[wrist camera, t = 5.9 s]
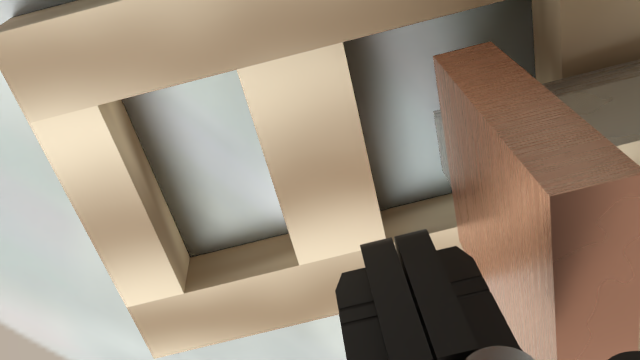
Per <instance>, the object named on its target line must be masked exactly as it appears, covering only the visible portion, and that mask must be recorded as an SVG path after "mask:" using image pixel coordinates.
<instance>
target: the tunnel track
mask: <svg viewBox="0 0 640 360" xmlns="http://www.w3.org/2000/svg"><path fill="white" fill-rule="evenodd" d="M500 1H504V0H77V1H73V2H69V3H65V4H62V5H58V6H54V7H50V8H47V9H43V10H39V11H35V12H31V13H28V14H24V15H20V16H16V17H13V18H10V19H9V20H7V21H6V22H5V23H3V24H2V25H0V70H1V72H2V74H3V76H4V78H5V80H6V82H7V83H8V85H9V87H10V89H11V91H12V93H13V95H14V97H15V98H16V100H17V102H18V104H19V106H20V108H21V110H22V112H23V113H24V115H25V117H26V119H27V121H28V123H29V125H30V127H31V129H32V130H33V132H34V134H35V136H36V138H37V140H38V142H39V144H40V145H41V147H42V149H43V151H44V153H45V155H46V157H47V159H48V160H49V162H50V164H51V166H52V168H53V170H54V172H55V174H56V175H57V177H58V179H59V181H60V183H61V185H62V187H63V189H64V191H65V192H66V194H67V196H68V198H69V200H70V202H71V204H72V206H73V207H74V209H75V211H76V213H77V215H78V217H79V219H80V221H81V222H82V224H83V226H84V228H85V230H86V232H87V234H88V236H89V237H90V239H91V241H92V243H93V245H94V247H95V249H96V251H97V252H98V254H99V256H100V258H101V260H102V262H103V264H104V266H105V268H106V269H107V271H108V273H109V275H110V277H111V279H112V281H113V283H114V284H115V286H116V288H117V290H118V292H119V294H120V296H121V298H122V299H123V301H124V303H125V305H126V307H127V309H128V311H129V313H130V314H131V316H132V318H133V320H134V322H135V324H136V326H137V328H138V330H139V331H140V333H141V335H142V337H143V339H144V341H145V343H146V345H147V346H148V348H149V350H150V352H151V354H152V356H153V358H154V359H155V358H159V357H163V356H168V355H172V354H176V353H180V352H184V351H188V350H193V349H197V348H201V347H205V346H209V345H213V344H218V343H222V342H226V341H230V340H234V339H238V338H243V337H247V336H251V335H255V334H259V333H263V332H268V331H272V330H276V329H280V328H284V327H288V326H293V325H297V324H301V323H305V322H309V321H313V320H318V319H322V318H326V317H330V316H334V315H338V314H339V310H338V305H337V299H336V293H335V290H336V287H337V285H338V282H339V279H340V277H341V274H342V273H344V272H348V271H352V270H356V269H361V268H365V265H364V261H363V256H362V252H361V248H360V245H361V244H365V243H369V242H374V241H378V240H382V239H386V238H390V237H392V239H393V242H394V236H398V235H402V234H407V233H411V232H415V231H419V230H423V229H427V231H428V233H429V235H430V237H431V240H432V242H433V244H434V246H435V249H436V250H440V249H444V248H449V247H453V246H457V247H459V248H460V249H461V250H463V248H462V246H461V244H460V242H459V236H458V229H457V222H456V215H455V208H454V201H453V194H452V193H451V194H447V195H443V196H439V197H435V198H431V199H426V200H422V201H418V202H414V203H410V204H406V205H402V206H398V207H394V208H390V209H386V210H382V211H380V210H379V205H378V200H377V196H376V191H375V187H374V182H373V178H372V173H371V169H370V164H369V159H368V155H367V150H366V146H365V141H364V137H363V132H362V128H361V123H360V119H359V114H358V109H357V105H356V100H355V96H354V91H353V87H352V82H351V78H350V73H349V68H348V64H347V59H346V55H345V50H344V46H343V42H345V41H349V40H353V39H357V38H361V37H365V36H369V35H373V34H376V33H380V32H384V31H388V30H392V29H396V28H400V27H404V26H407V25H411V24H415V23H419V22H423V21H427V20H431V19H435V18H438V17H442V16H446V15H450V14H454V13H458V12H462V11H466V10H469V9H473V8H477V7H481V6H485V5H489V4H493V3H496V2H500ZM532 19H533V38H534V57H535V76H536V80H537V81H539V82H540V83H541V84H544V83H548V82H552V81H556V80H560V79H563V78H567V77H571V76H575V75H579V74H583V73H587V72H591V71H595V70H599V69H603V68H607V67H611V66H615V65H619V64H623V63H627V62H631V61H635V60H639V59H640V0H532ZM233 70H237V72H238V76H239V79H240V82H241V85H242V88H243V91H244V94H245V97H246V101H247V104H248V107H249V110H250V113H251V116H252V119H253V122H254V126H255V129H256V132H257V135H258V138H259V141H260V144H261V147H262V150H263V154H264V157H265V160H266V163H267V166H268V169H269V172H270V175H271V179H272V182H273V185H274V188H275V191H276V194H277V197H278V200H279V204H280V207H281V210H282V213H283V216H284V219H285V222H286V225H287V229H288V232H289V233H288V234H284V235H280V236H276V237H272V238H268V239H264V240H260V241H256V242H252V243H248V244H244V245H240V246H236V247H232V248H228V249H224V250H220V251H215V252H211V253H207V254H203V255H199V256H195V257H191V258H190V257H189V254H188V252H187V250H186V247H185V245H184V243H183V240H182V238H181V236H180V234H179V231H178V229H177V227H176V224H175V222H174V220H173V217H172V215H171V213H170V211H169V208H168V206H167V204H166V201H165V199H164V197H163V195H162V192H161V190H160V188H159V185H158V183H157V181H156V178H155V176H154V174H153V172H152V169H151V167H150V165H149V162H148V160H147V158H146V155H145V153H144V151H143V149H142V146H141V144H140V142H139V139H138V137H137V135H136V133H135V130H134V128H133V126H132V123H131V121H130V119H129V116H128V114H127V112H126V110H125V107H124V105H123V103H122V100H121V99H125V98H129V97H132V96H136V95H140V94H144V93H148V92H152V91H156V90H160V89H163V88H167V87H171V86H175V85H179V84H183V83H187V82H191V81H194V80H198V79H202V78H206V77H210V76H214V75H218V74H221V73H225V72H229V71H233ZM616 147H617V148H619V149H620V150H621V151H622V152H623V153H625V154H626V155H627V156H628V157H629V158H631V159H632V160H633V161H634V162H635V163H637V164H638V165H639V166H640V141H635V142H631V143H627V144H623V145H619V146H616ZM394 245H395V242H394ZM395 248H396V247H395ZM463 251H464V250H463ZM638 351H640V325H639V344H638Z"/></svg>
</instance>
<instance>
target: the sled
mask: <svg viewBox="0 0 640 360" xmlns="http://www.w3.org/2000/svg"><path fill="white" fill-rule="evenodd" d="M433 60H434V67H435V74H436V81H437V88H438V95H439V102H440V110H437V111H433V112H434V119H435V125H436V132H437V139H438V145H439V152H440V159H441V165H442V171H443V173H444V174H445V176H446V178H447V180H448V182H449V183H450V185H451V187H452V194H453V201H454V208H455V215H456V222H457V229H458V236H459V242H460V244H461V246H462V248H463V250H464V252H466V253H467V254H468V255H470V256H471V257H472V258H474V260H475V262H476V264H477V266H478V268H479V270H480V272H481V274H482V277H483V278H484V280H485V282H486V283H487V285H488V287H489V290H490V292H491V293H492V295H493V297H494V299H495V301H496V303H497V305H498V306H499V308H500V310H501V312H502V314H503V316H504V318H505V320H506V322H507V324H508V326H509V328H510V330H511V331H512V333H513V335H514V337H515V339H516V341H517V343H518V345H519V346H520V348H521V349H522V350H523V351H524V352H525V353H527V354H528V355H530V356H531V357H532V358H534V359H535V360H608V359H609V358H611V357H612V356H614V355H617V354H619V353H623V352H628V351H638V344H639V325H640V166H639V165H638V164H637V163H635V162H634V161H633V160H632V159H631V158H629V157H628V156H627V155H626V154H625V153H623V152H622V151H621V150H620V149H619V148H617V147H616V146H619V145H623V144H627V143H631V142H635V141H640V59H639V60H635V61H631V62H627V63H623V64H619V65H615V66H611V67H607V68H603V69H599V70H595V71H591V72H587V73H583V74H579V75H575V76H571V77H567V78H563V79H560V80H556V81H552V82H548V83H544V84H541V83H540V82H539V81H537V80H536V79H535V78H534V77H533V76H531V75H530V74H529V73H528V72H527V71H525V70H524V69H523V68H522V67H521V66H520V65H518V64H517V63H516V62H515V61H514V60H512V59H511V58H510V57H509V56H508V55H506V54H505V53H504V52H503V51H502V50H500V49H499V48H498V47H497V46H496V45H494V44H493V43H492V42H491V41H490V42H486V43H482V44H478V45H474V46H470V47H466V48H462V49H459V50H455V51H451V52H447V53H443V54H439V55H435V56H433Z"/></svg>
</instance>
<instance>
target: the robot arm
mask: <svg viewBox="0 0 640 360" xmlns="http://www.w3.org/2000/svg"><path fill="white" fill-rule="evenodd" d="M394 242H395V245H394ZM394 242H393V239H392V237H390V238H386V239H382V240H378V241H374V242H369V243H365V244H361V245H360V248H361V252H362V256H363V261H364V265H365V268H361V269H356V270H352V271H348V272H344V273H342V274H341V277H340V279H339V282H338V285H337V287H336V290H335V293H336V299H337V305H338V310H339V316H340V322H341V328H342V334H343V340H344V346H345V352H346V357H347V360H535V359H534V358H532V357H531V356H530V355H528V354H527V353H525V352H524V351H523V350H522V349H521V348H520V346H519V345H518V343H517V341H516V339H515V337H514V335H513V333H512V331H511V330H510V328H509V326H508V324H507V322H506V320H505V318H504V316H503V314H502V312H501V310H500V308H499V306H498V305H497V303H496V301H495V299H494V297H493V295H492V293H491V292H490V290H489V287H488V285H487V283H486V282H485V280H484V278H483V277H482V274H481V272H480V270H479V268H478V266H477V264H476V262H475V260H474V258H472V257H471V256H470V255H468V254H467V253H466V252H464V251H463V250H461V249H460V248H459V247H457V246H453V247H449V248H444V249H440V250H436V249H435V246H434V244H433V242H432V240H431V237H430V235H429V233H428V231H427V229H423V230H419V231H415V232H411V233H407V234H402V235H398V236H394ZM395 247H396V248H395ZM608 360H640V351H628V352H623V353H619V354H617V355H614V356H612V357H611V358H609V359H608Z"/></svg>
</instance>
